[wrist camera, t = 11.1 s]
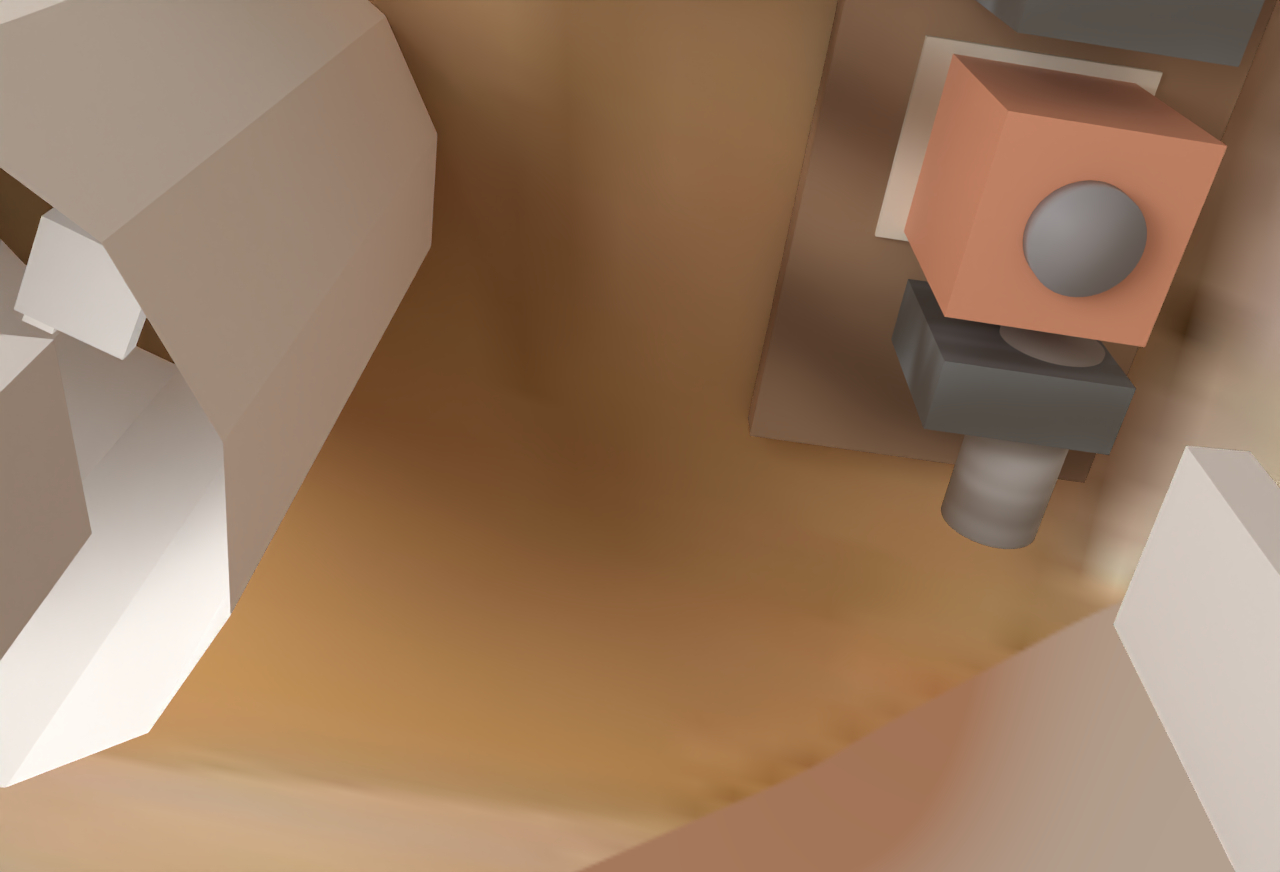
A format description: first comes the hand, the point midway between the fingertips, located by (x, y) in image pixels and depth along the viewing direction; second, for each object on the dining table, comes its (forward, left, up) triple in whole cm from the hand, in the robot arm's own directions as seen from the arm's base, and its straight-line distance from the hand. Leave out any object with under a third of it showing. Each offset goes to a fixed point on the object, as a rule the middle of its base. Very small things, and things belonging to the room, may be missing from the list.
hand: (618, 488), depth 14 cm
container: (+4, -13, -22) cm, 26 cm away
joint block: (0, +10, -20) cm, 23 cm away
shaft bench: (0, +10, -22) cm, 24 cm away
